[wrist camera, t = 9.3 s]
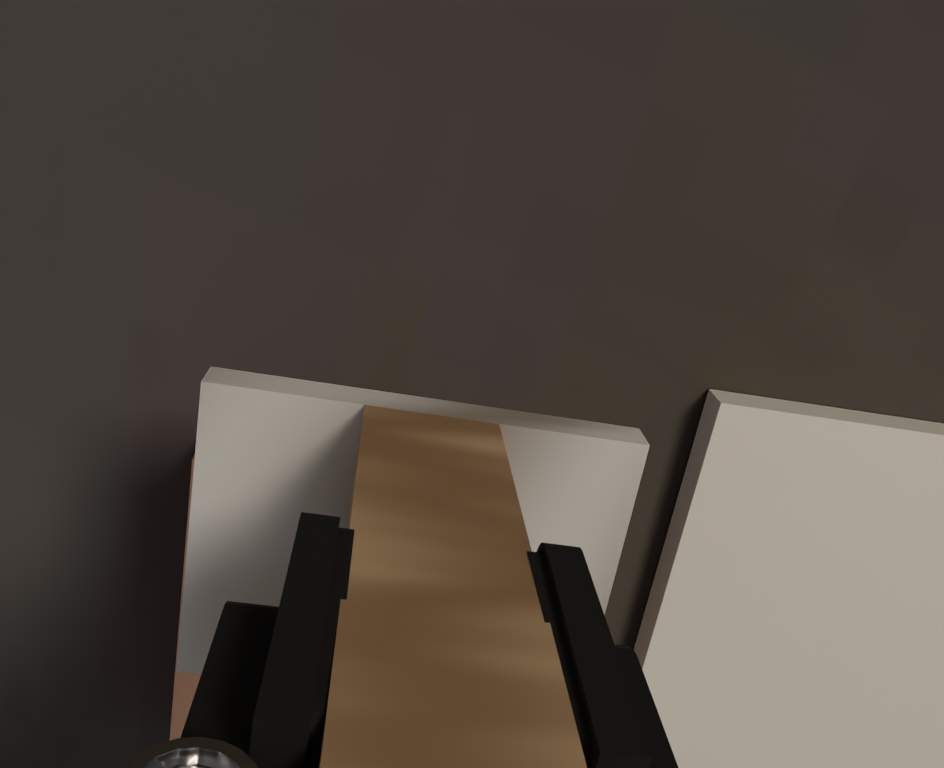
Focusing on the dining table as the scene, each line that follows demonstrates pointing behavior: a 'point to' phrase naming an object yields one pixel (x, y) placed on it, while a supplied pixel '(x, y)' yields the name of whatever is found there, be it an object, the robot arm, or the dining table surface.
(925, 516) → the mat
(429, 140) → the dining table surface
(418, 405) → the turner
